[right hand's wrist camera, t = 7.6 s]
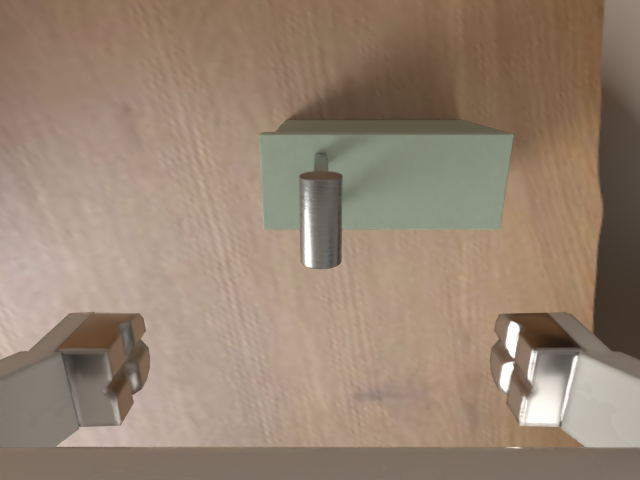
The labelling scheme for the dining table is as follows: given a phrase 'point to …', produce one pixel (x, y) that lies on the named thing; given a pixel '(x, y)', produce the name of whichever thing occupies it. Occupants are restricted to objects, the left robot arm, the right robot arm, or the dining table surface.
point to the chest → (382, 126)
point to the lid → (380, 184)
